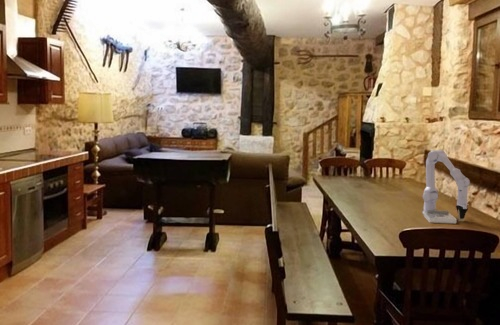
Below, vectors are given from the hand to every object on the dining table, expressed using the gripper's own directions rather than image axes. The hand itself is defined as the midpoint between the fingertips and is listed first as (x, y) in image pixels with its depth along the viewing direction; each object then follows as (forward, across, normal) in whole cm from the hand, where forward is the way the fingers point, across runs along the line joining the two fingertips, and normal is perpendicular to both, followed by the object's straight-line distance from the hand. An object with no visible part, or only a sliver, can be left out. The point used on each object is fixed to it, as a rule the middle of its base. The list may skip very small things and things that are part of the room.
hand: (461, 217), depth 310 cm
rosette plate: (+2, 0, +13) cm, 13 cm away
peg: (+2, 0, 0) cm, 2 cm away
